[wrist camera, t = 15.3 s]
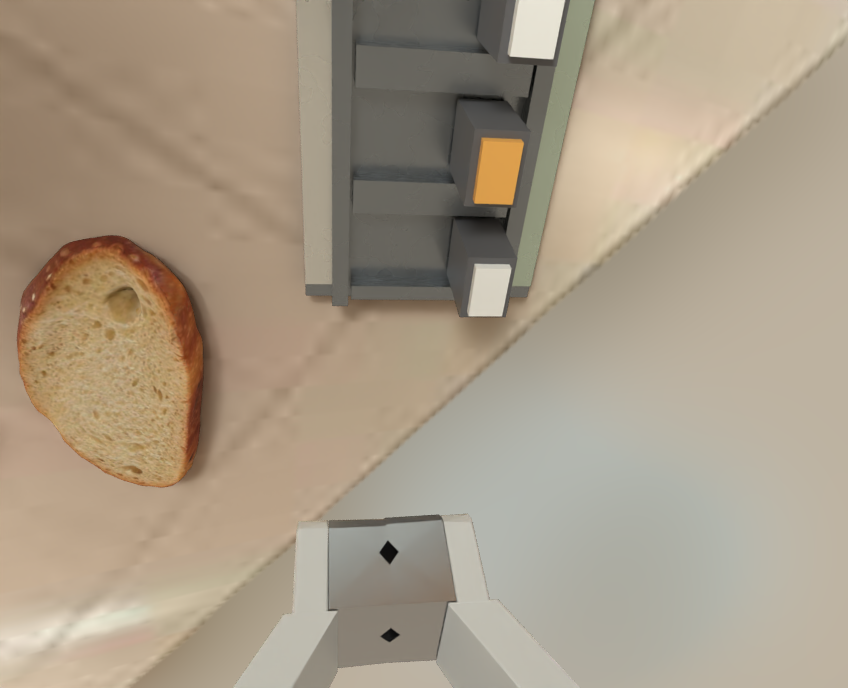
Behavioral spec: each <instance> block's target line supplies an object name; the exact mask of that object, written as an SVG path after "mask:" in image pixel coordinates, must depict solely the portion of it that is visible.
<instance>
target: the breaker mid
mask: <svg viewBox="0 0 848 688" xmlns="http://www.w3.org/2000/svg"><path fill="white" fill-rule="evenodd" d="M530 134H531V131H530V130H529V129H528V127H527V126H526V125H525V123H524V122H523V121H522V119H521V118H520V117H519V116H518V114H517V113H516V112H515V110H514V109H513V108H512V106H511V105H510V104H509V103H508V101H496V100H478V99H461V98H458V99H457V108H456V116H455V125H454V133H453V142H452V151H451V159H450V168H449V170H450V172H451V175H452V177H453V180H454V182H455V185H456V187H457V190H458V192H459V195H460V197H461V200H462V202H463V205H464V206H471V207H504V208H516V207H517V201H518V196H519V191H520V186H521V181H522V175H523V170H524V165H525V160H526V154H527V149H528V144H529V139H530Z"/></svg>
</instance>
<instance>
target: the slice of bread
mask: <svg viewBox="0 0 848 688" xmlns="http://www.w3.org/2000/svg"><path fill="white" fill-rule="evenodd" d="M17 346H18V359H19V362H20V375H21V378H22V379H23V382H24V386H25V389H26V392H27V394H28V395H29V397H30V399H31V402H32V404H33V405H34V407H35V408H36V409H37V410H38V411H39V412H40V413H41V414H43V415H44V416H46V417H47V418H48V419H49V420H50V421H52V423H53V424H54V426H55V427H56V428H57V430H58V431H59V432H60V434H61V436H62V438H63V440H64V441H65V442H66V443H67V444H68V445H69V446H70V447H71V448H72V449H73V450H74V451H75V452H76V453H77V454H78V455H80V456H81V457H82V458H84V459H86V460H87V461H89V462H91V463H92V464H94V465H95V466H97V467H98V468H99V469H101V470H102V471H103V472H105V473H107V474H109V475H112V476H114V477H117V478H119V479H121V480H124V481H127V482H131V483H135V484H138V485H141V486H154V487H168V486H172V485H174V484H176V483H177V482H179V481H180V480H181V479H182V478H183V477H184V476H185V474H186V473H187V471H188V470H189V469H190V468H191V466H192V464H193V459H194V457H195V454H196V450H197V446H198V441H199V432H200V410H201V399H202V387H203V344H202V338H201V335H200V333H199V331H198V329H197V326H196V322H195V317H194V312H193V309H192V305H191V302H190V299H189V297H188V294H187V292H186V290H185V288H184V286H183V285H182V283H181V282H180V281H179V280H178V278H177V277H176V276H175V275H174V274H173V273H172V272H171V271H170V270H169V269H168V268H167V267H166V266H165V265H164V264H163V263H162V262H161V261H160V260H159V259H157V258H156V257H155V256H153V255H152V254H150V253H148V252H146V251H144V250H142V249H141V248H139V247H138V246H136V245H135V244H134V243H133V242H132V241H130V240H129V239H127V238H125V237H121V236H113V235H110V236H102V237H96V238H89V239H83V240H78V241H74V242H70V243H68V244H66V245H64V246H63V247H62V248H61V249H60V250H59V251H58V252H57V253H56V254H55V255H54V256H53V257H52V258H51V259H50V260H49V261H48V262H47V264H46V265H45V266H44V267H43V269H42V270H41V271H40V272H39V273H38V275H37V276H36V277H35V278H34V279H33V280H32V281H31V283H30V284H29V285H28V287H27V288H26V289H25V291H24V293H23V295H22V299H21V304H20V318H19V324H18V332H17Z"/></svg>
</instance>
